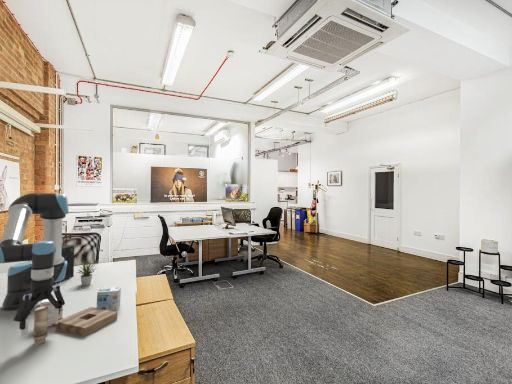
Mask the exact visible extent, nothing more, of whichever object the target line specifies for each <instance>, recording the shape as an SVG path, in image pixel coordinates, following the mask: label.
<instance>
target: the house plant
mask: <svg viewBox="0 0 512 384" xmlns="http://www.w3.org/2000/svg"><path fill="white" fill-rule="evenodd" d="M84 262H85V263H84ZM84 262H81V264H82V266H79V265H77V264H76V266H78V267H79V268H80V269H81V270H80V269H78V271H77V272H76V273H77V274H81V275H80V282H81V283H80V284H81V286H90V285H91V283H92V279H93V272H95V270H96V269H97V267H95V266H96V265H98V263H97V261H95V262H94V263H92V261H90V262H89V264H88V262H87V261H84ZM94 267H95V268H94Z"/></svg>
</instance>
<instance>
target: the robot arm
mask: <svg viewBox="0 0 512 384" xmlns="http://www.w3.org/2000/svg"><path fill="white" fill-rule="evenodd" d="M68 214H69V202H68V197H67V195H66V194H65V193H58V192H57V193H53V192H52V193H49V192H48V193H47V192H41V193H39V192H30V193H27V194H26V193H25V194H23V195H21V196H19V197H17V198H16V199H15V200H14V201H13V202H12V203H11V204H10V205H9V207H8V209H7V215H8V218H7V221H6V224H5V227H4V230H3V232H2V236H1V239H0V264H10V263H16V264H13V265H10V266H9V267H8V271H7V284H6V285H7V288H6V289H7V290H6V295H5V297H4V300H3V302H2V306H1V308H2V310H3V311H4V310H5V311H15V310H17V311H16V313H15V315H14V319H13V321H14V322H16V323H17V322H19V328H18V329H19V330H20V332H21V334H20V336H21V337H23V338H27V337H29V320H28V318H29V316H31V314H32V311H33V310H34V309H35V307H36V305H37V304H38V303H39V302H41V301H42V300H46V299H48V300H49V301H50V302H51V304H52V305H53V306H54V307H55V308H53V312H52V323H54V324H58V315H60V308H62V305H63V306H65V304H66V302H65V300H64V297H63V295H62V292H61V285H58V284H55V285H53V282H58V281H62V280H63V279H64V277H65V273H66V267H67V261H64V258H63V257H62V256H61V251H62V245H63V243H62V241H63V219H65V218H66V215H68ZM32 215H39V219H41V220H43V222H42V223H43V227H42V228H43V230H42V231H43V232H42V234H43V240H41V241H34V242H33V243H26V244H25V243H23V242H24V238H25V234H26V230H27V225H28V222H29V218H30V217H32ZM18 262H19V263H18ZM62 282H63V281H62ZM52 292H53V294H54V295H53V294H52ZM55 298H56V299H57V301H58V302H57V301H56V299H55Z"/></svg>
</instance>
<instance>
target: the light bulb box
mask: <svg viewBox="0 0 512 384" xmlns="http://www.w3.org/2000/svg"><path fill="white" fill-rule="evenodd" d="M121 295H122V287H121V286H116V287H114V286H113V287H101V288H100V289H99V290H98V291H97V293H96V308H99V309H104V310H110V311H115V312H117V311H118V310H119V309H120V307H121ZM116 310H117V311H116Z"/></svg>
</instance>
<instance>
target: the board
mask: <svg viewBox="0 0 512 384" xmlns="http://www.w3.org/2000/svg"><path fill="white" fill-rule="evenodd" d="M116 320H118V311H110V310H104V309H99V308H97V307H93V306H90V307H88V308H84V309H82V310H79V311H78V312H75V313H73V314H71V315H68V316H65V317H63V319H61V320H58V324H56V325H55V330H56V331H57V330H58V331H62V332H66V331H67V332H66V333H70V332H71V334H75V335H79V336H83V337H86V336H88V335H89V334H91V333H93V332H95V331H97V330H99V329H100V328H103V327H105V326H106V325H108V324H110V323H113V322H114V321H116Z"/></svg>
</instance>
